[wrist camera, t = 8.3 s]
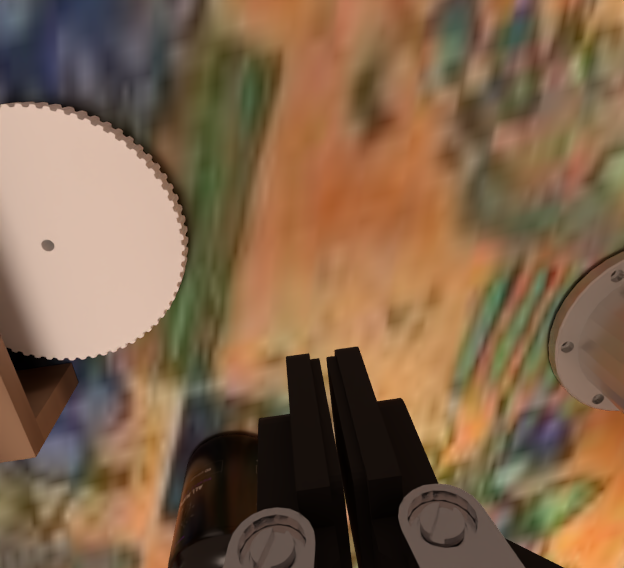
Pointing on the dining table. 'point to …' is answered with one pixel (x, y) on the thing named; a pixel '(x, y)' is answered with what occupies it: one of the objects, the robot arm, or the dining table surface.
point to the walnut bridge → (30, 405)
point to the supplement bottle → (215, 500)
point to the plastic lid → (82, 234)
